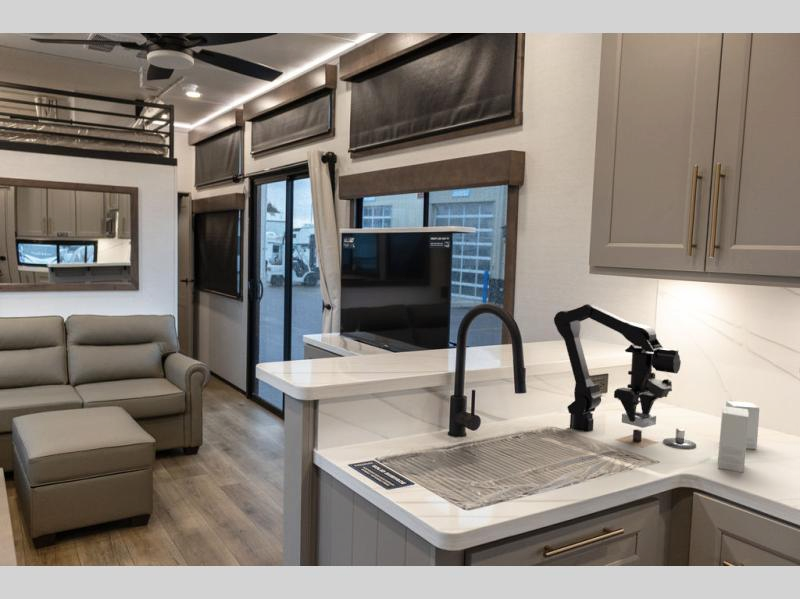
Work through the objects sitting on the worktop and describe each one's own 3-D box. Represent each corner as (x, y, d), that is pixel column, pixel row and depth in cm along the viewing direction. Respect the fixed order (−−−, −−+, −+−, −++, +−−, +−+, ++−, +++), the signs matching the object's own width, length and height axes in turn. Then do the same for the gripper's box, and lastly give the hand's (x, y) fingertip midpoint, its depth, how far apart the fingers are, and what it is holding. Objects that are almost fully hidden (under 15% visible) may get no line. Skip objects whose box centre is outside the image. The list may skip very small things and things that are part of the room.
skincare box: (718, 459, 178) (721, 405, 177) (744, 464, 175) (748, 408, 174) (717, 468, 170) (721, 412, 169) (745, 473, 167) (749, 415, 166)
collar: (621, 422, 191) (622, 413, 190) (634, 419, 195) (635, 410, 195) (642, 427, 185) (643, 419, 185) (655, 424, 189) (656, 415, 189)
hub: (657, 446, 189) (658, 428, 189) (672, 441, 195) (673, 423, 194) (686, 454, 182) (687, 435, 182) (701, 448, 188) (702, 430, 187)
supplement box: (757, 449, 189) (760, 407, 188) (730, 447, 190) (733, 405, 189) (749, 442, 196) (751, 402, 195) (723, 440, 197) (725, 400, 196)
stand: (614, 442, 191) (615, 429, 191) (631, 438, 197) (632, 424, 197) (642, 450, 184) (642, 436, 184) (658, 445, 190) (659, 431, 189)
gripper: (649, 376, 177) (646, 431, 178) (683, 369, 188) (680, 421, 189) (614, 369, 185) (611, 422, 187) (649, 364, 197) (646, 413, 198)
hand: (638, 419), depth 190 cm, fingers closed on collar, 7 cm apart
